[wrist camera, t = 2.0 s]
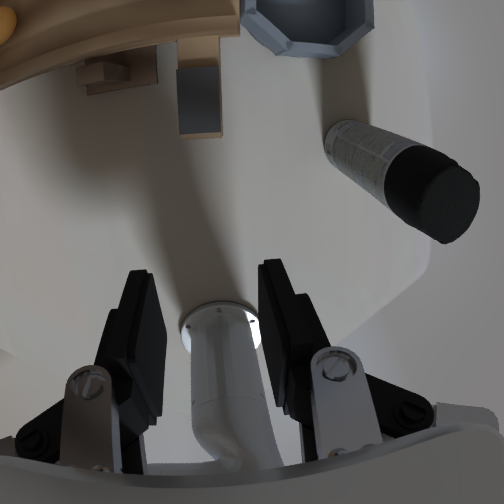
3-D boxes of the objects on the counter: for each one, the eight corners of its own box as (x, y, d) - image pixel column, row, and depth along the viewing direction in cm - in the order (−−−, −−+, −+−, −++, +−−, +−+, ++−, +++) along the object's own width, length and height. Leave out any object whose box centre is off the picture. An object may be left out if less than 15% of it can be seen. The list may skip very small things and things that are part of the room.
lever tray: (243, 129, 26) (240, 142, 20) (24, 156, 26) (-14, 176, 21) (240, -68, 16) (236, -101, 10) (18, -7, 16) (-21, -13, 10)
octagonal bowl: (350, 63, 31) (375, 61, 26) (238, 56, 29) (245, 50, 24) (347, -30, 24) (370, -44, 19) (237, -42, 23) (243, -63, 17)
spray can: (355, 178, 38) (453, 258, 21) (312, 155, 36) (403, 227, 19) (379, 135, 36) (494, 189, 19) (337, 108, 34) (450, 143, 16)
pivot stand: (157, 83, 29) (137, 82, 20) (90, 95, 29) (49, 101, 20) (157, -52, 20) (143, -92, 11) (91, -38, 20) (58, -68, 11)
